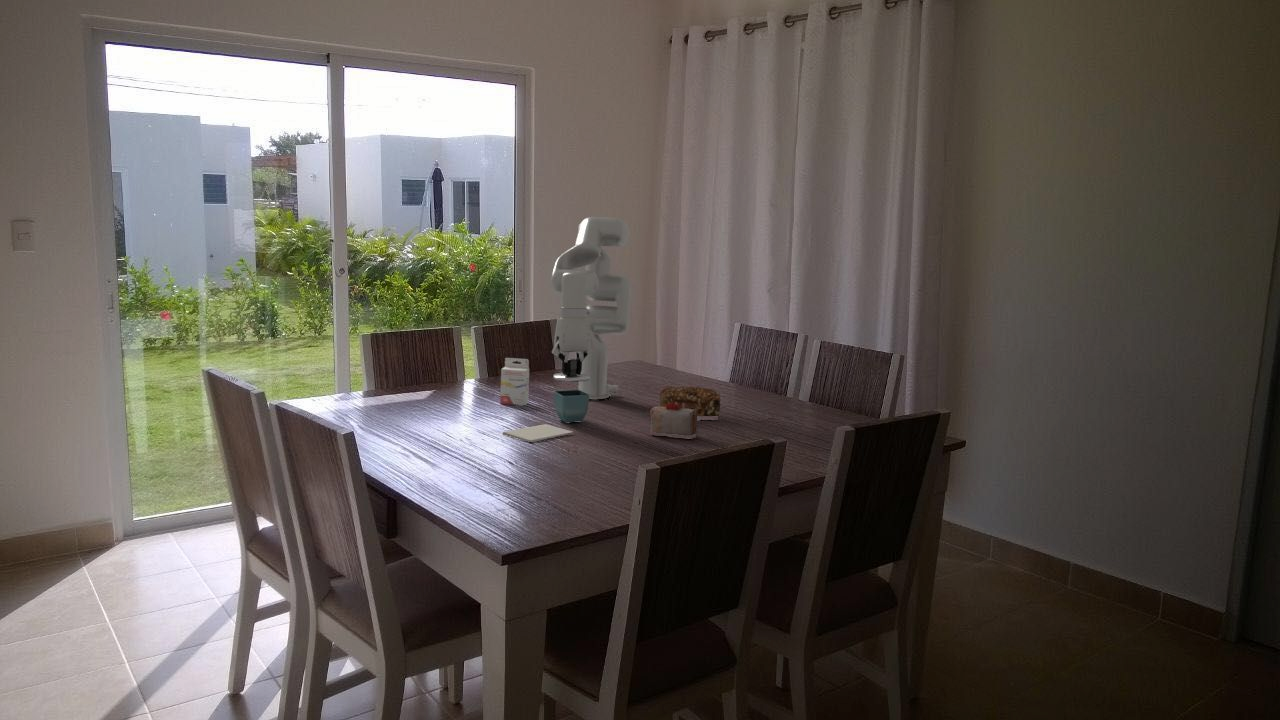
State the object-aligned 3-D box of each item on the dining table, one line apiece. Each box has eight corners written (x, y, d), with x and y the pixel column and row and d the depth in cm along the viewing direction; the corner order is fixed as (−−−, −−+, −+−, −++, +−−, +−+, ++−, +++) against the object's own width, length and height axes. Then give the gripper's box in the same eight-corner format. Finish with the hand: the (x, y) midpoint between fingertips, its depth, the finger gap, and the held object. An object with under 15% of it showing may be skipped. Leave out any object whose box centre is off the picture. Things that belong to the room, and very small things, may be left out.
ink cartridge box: (499, 404, 302) (500, 359, 300) (503, 401, 307) (504, 357, 305) (525, 405, 302) (526, 361, 299) (528, 402, 306) (529, 358, 304)
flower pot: (551, 419, 284) (552, 390, 283) (578, 417, 288) (579, 389, 286) (561, 425, 276) (562, 396, 275) (589, 424, 280) (590, 394, 278)
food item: (646, 436, 267) (647, 403, 266) (653, 430, 275) (655, 398, 273) (692, 441, 264) (693, 407, 262) (698, 435, 271) (700, 402, 270)
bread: (659, 420, 289) (661, 389, 287) (659, 413, 299) (660, 382, 298) (719, 422, 289) (721, 391, 288) (716, 415, 300) (718, 384, 298)
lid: (576, 374, 287) (577, 355, 286) (597, 380, 279) (597, 360, 278) (546, 376, 280) (546, 357, 280) (566, 382, 272) (567, 363, 271)
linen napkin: (545, 426, 274) (545, 424, 274) (573, 434, 266) (573, 431, 266) (502, 434, 263) (502, 431, 262) (530, 443, 255) (530, 440, 254)
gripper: (591, 311, 284) (589, 371, 287) (543, 312, 275) (541, 373, 278) (603, 314, 278) (601, 375, 281) (554, 315, 269) (552, 378, 272)
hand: (571, 373), depth 279 cm, fingers closed on lid, 3 cm apart
